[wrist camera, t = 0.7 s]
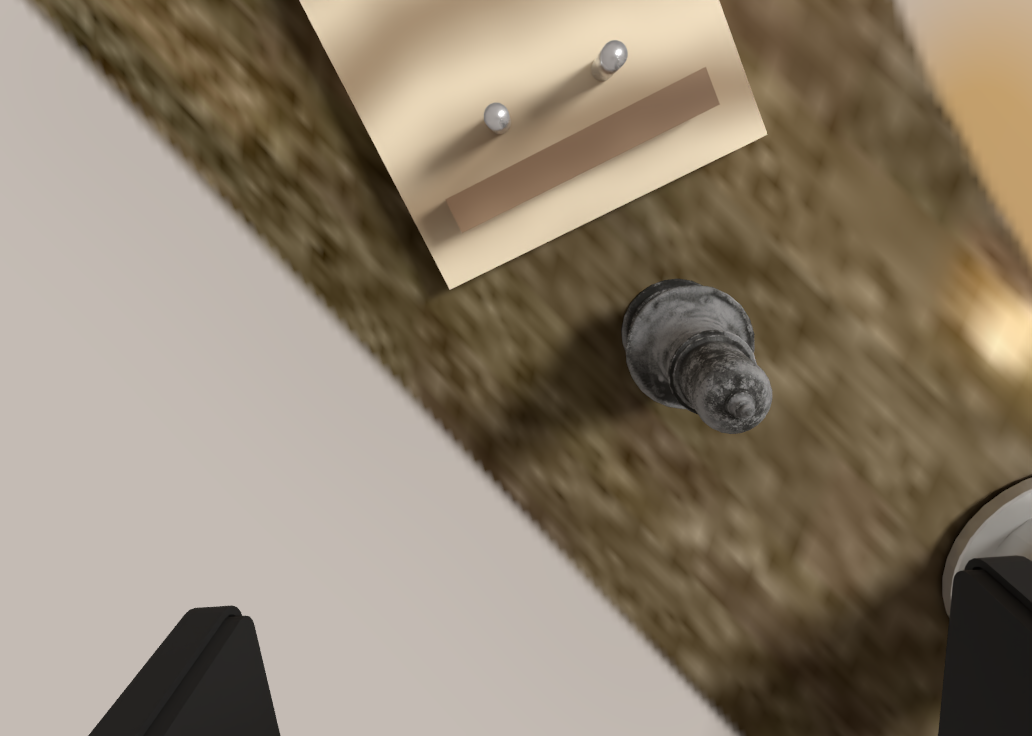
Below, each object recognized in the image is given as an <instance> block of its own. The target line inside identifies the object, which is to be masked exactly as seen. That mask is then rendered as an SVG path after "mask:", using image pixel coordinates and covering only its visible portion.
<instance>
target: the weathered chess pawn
mask: <svg viewBox="0 0 1032 736" xmlns="http://www.w3.org/2000/svg"><path fill="white" fill-rule="evenodd" d="M622 343H623V345H624V348H625V351H626V362H627V365H628V368H629V371H630V374H631V376H632V379H633V380H634V381H635V383H636V384H637V385H638V387H639V388H640V390H641V391H642V392H643V393H645V394H646V395H647V396H649V397H650V398H651V399H652V400H654V401H656V402H658V403H661V404H663V405H665V406H668V407H673V408H680V409H687V410H689V411H691V412H693V413H696V414H698V415H699V416H700V417H701V419H702V420H703V422H705V423H706V424H707V425H708V426H710V427H711V428H713V429H715V430H717V431H720V432H722V433H729V434H736V433H742V432H745V431H748V430H750V429H752V428H753V427H755V426H757V425H758V424H759V423H760V422H761V421H762V420H763V419H764V418H765V416H766V415H767V413H768V411H769V409H770V406H771V402H772V388H771V385H770V382H769V379H768V377H767V375H766V374H765V372H764V371H763V370H762V369H761V368H760V367H759V366H758V365H757V363H756V360H755V357H754V332H753V328H752V325H751V322H750V318H749V317H748V315H747V314H746V312H745V311H744V309H743V308H742V306H741V305H740V304H739V303H738V302H737V301H735V300H734V299H733V298H732V297H731V296H730V295H728V294H726V293H724V292H722V291H720V290H718V289H715V288H713V287H708V286H702V285H700V284H698V283H696V282H693V281H690V280H683V279H671V280H664V281H661V282H658V283H656V284H653V285H651V286H649V287H648V288H646V289H645V290H643V291H642V292H641V293H639V294H638V296H637V297H636V298H635V299H634V300H633V301H632V303H631V304H630V306H629V308H628V310H627V312H626V314H625V316H624V320H623V325H622Z"/></svg>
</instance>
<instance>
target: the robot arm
mask: <svg viewBox="0 0 1032 736" xmlns="http://www.w3.org/2000/svg"><path fill="white" fill-rule="evenodd" d="M942 596H943V600H944V605H945V609H946V613H947V615H948V617H949V628H948V638H947V649H946V659H945V670H944V680H943V691H942V701H941V711H940V722H939V732H938V736H1032V478H1029V479H1026V480H1024V481H1022V482H1020V483H1018V484H1016V485H1014V486H1012V487H1010V488H1009V489H1007V490H1005V491H1003V492H1002V493H1000V494H999V495H998V496H996V497H995V498H994V499H992V500H991V501H989V502H988V503H987V504H985V505H984V506H983V507H982V508H981V509H980V510H979V511H978V512H977V513H976V514H975V515H974V516H973V517H972V518H971V519H970V520H969V521H968V523H967V524H966V525H965V527H964V528H963V530H962V531H961V533H960V534H959V535H958V537H957V538H956V540H955V542H954V544H953V546H952V548H951V551H950V553H949V555H948V557H947V560H946V564H945V569H944V573H943V581H942ZM89 736H280V733H279V728H278V724H277V720H276V715H275V711H274V707H273V702H272V698H271V694H270V690H269V685H268V681H267V677H266V673H265V668H264V664H263V660H262V656H261V652H260V647H259V643H258V639H257V634H256V630H255V626H254V623H253V620H252V619H251V618H250V617H249V616H242V614H241V612H240V610H239V609H238V608H237V607H235V606H220V607H204V608H194V609H191V610H189V611H188V612H187V613H186V614H185V615H184V616H183V618H182V619H181V620H180V621H179V623H178V624H177V625H176V626H175V628H174V629H173V630H172V631H171V633H170V634H169V635H168V636H167V638H166V639H165V640H164V641H163V643H162V644H161V645H160V646H159V648H158V649H157V650H156V651H155V653H154V654H153V655H152V656H151V658H150V659H149V660H148V662H147V663H146V664H145V665H144V666H143V668H142V669H141V670H140V672H139V673H138V674H137V675H136V677H135V678H134V679H133V680H132V682H131V683H130V684H129V685H128V687H127V688H126V689H125V690H124V692H123V693H122V694H121V695H120V697H119V698H118V699H117V700H116V702H115V703H114V704H113V705H112V707H111V708H110V709H109V710H108V712H107V713H106V714H105V715H104V717H103V718H102V719H101V721H100V722H99V723H98V724H97V725H96V727H95V728H94V729H93V731H92V732H91V733H90V734H89Z"/></svg>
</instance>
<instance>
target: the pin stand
mask: <svg viewBox="0 0 1032 736" xmlns="http://www.w3.org/2000/svg"><path fill="white" fill-rule="evenodd" d="M299 1H300V3H301V5H302V7H303V8H304V10H305V12H306V14H307V16H308V18H309V20H310V22H311V24H312V26H313V28H314V30H315V32H316V33H317V35H318V37H319V39H320V41H321V43H322V45H323V47H324V49H325V51H326V53H327V55H328V57H329V58H330V60H331V62H332V64H333V66H334V68H335V70H336V72H337V74H338V76H339V78H340V80H341V82H342V83H343V85H344V87H345V89H346V91H347V93H348V95H349V97H350V99H351V101H352V103H353V105H354V107H355V108H356V110H357V112H358V114H359V116H360V118H361V120H362V122H363V124H364V126H365V128H366V130H367V132H368V133H369V135H370V137H371V139H372V141H373V143H374V145H375V147H376V149H377V151H378V153H379V155H380V157H381V158H382V160H383V162H384V164H385V166H386V168H387V170H388V172H389V174H390V176H391V178H392V180H393V182H394V183H395V185H396V187H397V189H398V191H399V193H400V195H401V197H402V199H403V201H404V203H405V205H406V207H407V208H408V210H409V212H410V214H411V216H412V218H413V220H414V222H415V224H416V226H417V228H418V230H419V232H420V233H421V235H422V237H423V239H424V241H425V243H426V245H427V247H428V249H429V251H430V253H431V255H432V257H433V258H434V260H435V262H436V264H437V266H438V268H439V270H440V272H441V274H442V276H443V278H444V280H445V282H446V283H447V285H448V287H449V289H452V288H454V287H456V286H458V285H460V284H463V283H465V282H467V281H469V280H471V279H473V278H475V277H477V276H479V275H481V274H483V273H485V272H487V271H489V270H491V269H493V268H495V267H497V266H499V265H501V264H503V263H506V262H508V261H510V260H512V259H514V258H516V257H518V256H520V255H522V254H524V253H526V252H528V251H530V250H532V249H534V248H536V247H538V246H540V245H542V244H544V243H546V242H548V241H551V240H553V239H555V238H557V237H559V236H561V235H563V234H565V233H567V232H569V231H571V230H573V229H575V228H577V227H579V226H581V225H583V224H585V223H587V222H589V221H591V220H594V219H596V218H598V217H600V216H602V215H604V214H606V213H608V212H610V211H612V210H614V209H616V208H618V207H620V206H622V205H624V204H626V203H628V202H630V201H632V200H634V199H636V198H639V197H641V196H643V195H645V194H647V193H649V192H651V191H653V190H655V189H657V188H659V187H661V186H663V185H665V184H667V183H669V182H671V181H673V180H675V179H677V178H679V177H681V176H684V175H686V174H688V173H690V172H692V171H694V170H696V169H698V168H700V167H702V166H704V165H706V164H708V163H710V162H712V161H714V160H716V159H718V158H720V157H722V156H724V155H727V154H729V153H731V152H733V151H735V150H737V149H739V148H741V147H743V146H745V145H747V144H749V143H751V142H753V141H755V140H757V139H759V138H761V137H763V136H765V135H767V132H766V129H765V126H764V124H763V121H762V118H761V115H760V113H759V110H758V107H757V104H756V101H755V99H754V96H753V93H752V90H751V88H750V85H749V82H748V79H747V77H746V74H745V71H744V68H743V66H742V63H741V60H740V57H739V54H738V52H737V49H736V46H735V43H734V41H733V38H732V35H731V32H730V30H729V27H728V24H727V21H726V19H725V16H724V13H723V10H722V7H721V5H720V2H719V0H299Z"/></svg>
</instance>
